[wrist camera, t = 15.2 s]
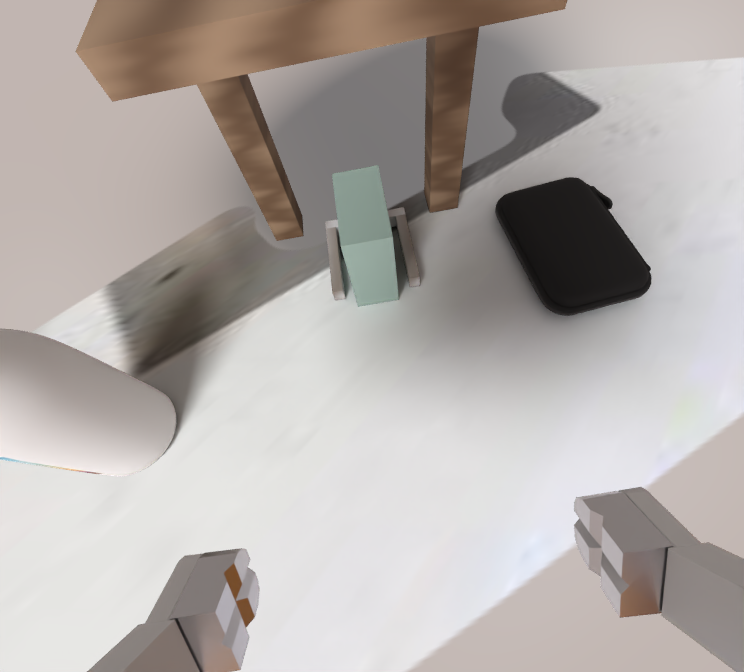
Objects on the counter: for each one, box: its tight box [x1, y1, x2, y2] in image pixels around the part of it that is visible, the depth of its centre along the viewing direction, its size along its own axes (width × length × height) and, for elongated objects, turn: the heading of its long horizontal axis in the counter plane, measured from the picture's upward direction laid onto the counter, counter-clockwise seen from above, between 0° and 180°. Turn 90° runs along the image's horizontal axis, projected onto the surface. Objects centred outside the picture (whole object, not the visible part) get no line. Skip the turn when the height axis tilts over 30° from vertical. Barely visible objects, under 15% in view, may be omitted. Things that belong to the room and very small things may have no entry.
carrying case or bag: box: [496, 177, 651, 316], centre depth 36 cm, size 11×3×15 cm
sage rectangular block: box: [332, 165, 399, 307], centre depth 34 cm, size 4×8×9 cm, turn 8°
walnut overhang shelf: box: [76, 0, 567, 300], centre depth 28 cm, size 20×14×24 cm
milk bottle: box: [0, 329, 176, 476], centre depth 24 cm, size 8×8×20 cm
